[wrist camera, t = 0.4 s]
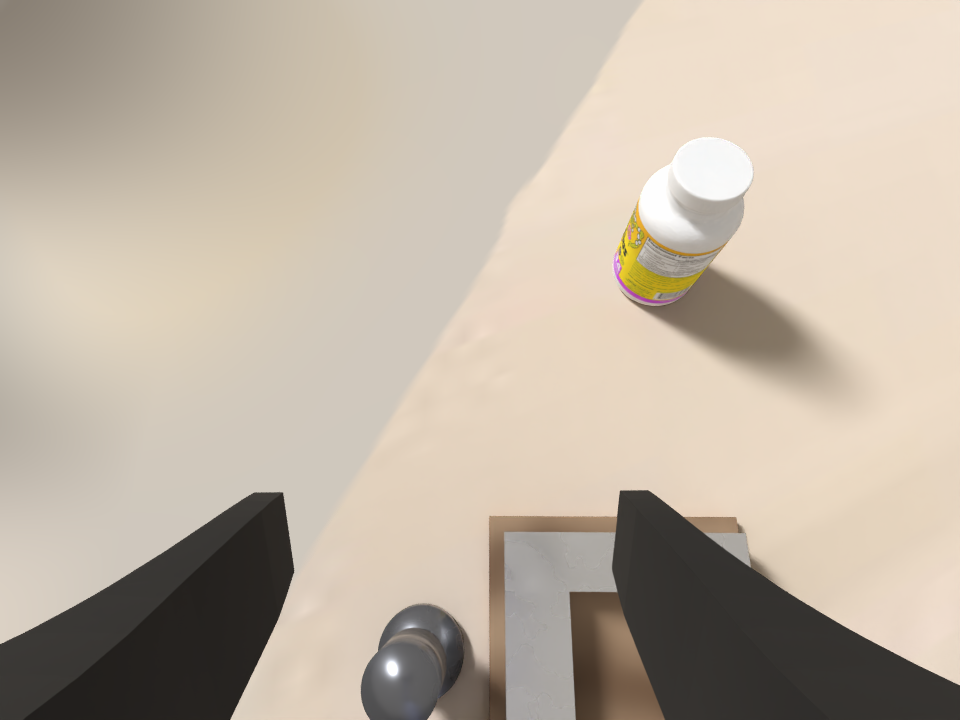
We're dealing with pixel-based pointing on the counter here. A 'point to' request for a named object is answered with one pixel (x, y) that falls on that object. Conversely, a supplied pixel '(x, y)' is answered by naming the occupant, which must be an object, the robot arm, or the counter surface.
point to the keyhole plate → (556, 612)
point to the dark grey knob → (413, 664)
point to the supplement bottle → (682, 221)
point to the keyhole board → (582, 629)
